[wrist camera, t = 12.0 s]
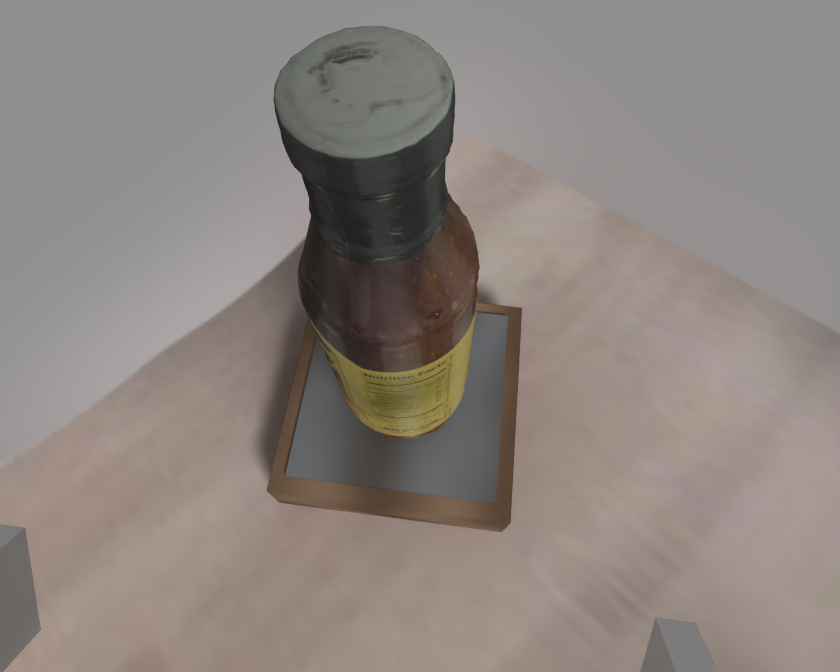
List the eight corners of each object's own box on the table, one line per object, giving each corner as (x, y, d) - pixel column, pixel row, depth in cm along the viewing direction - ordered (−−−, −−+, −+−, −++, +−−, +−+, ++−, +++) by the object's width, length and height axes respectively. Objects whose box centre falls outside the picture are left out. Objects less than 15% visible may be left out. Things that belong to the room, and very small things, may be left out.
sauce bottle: (364, 326, 32) (280, -40, 15) (475, 348, 32) (529, -9, 14) (329, 438, 30) (173, 152, 12) (450, 465, 29) (478, 204, 11)
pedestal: (513, 331, 36) (522, 305, 33) (501, 531, 31) (511, 521, 28) (323, 309, 37) (315, 281, 34) (279, 502, 31) (265, 489, 28)
